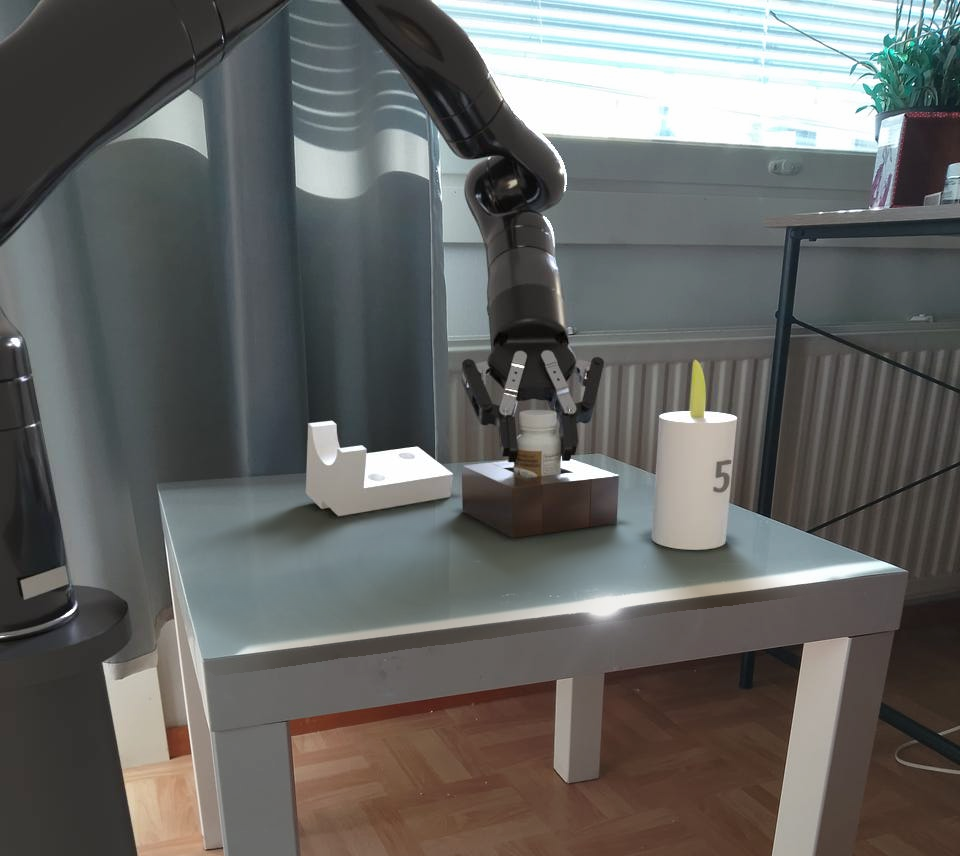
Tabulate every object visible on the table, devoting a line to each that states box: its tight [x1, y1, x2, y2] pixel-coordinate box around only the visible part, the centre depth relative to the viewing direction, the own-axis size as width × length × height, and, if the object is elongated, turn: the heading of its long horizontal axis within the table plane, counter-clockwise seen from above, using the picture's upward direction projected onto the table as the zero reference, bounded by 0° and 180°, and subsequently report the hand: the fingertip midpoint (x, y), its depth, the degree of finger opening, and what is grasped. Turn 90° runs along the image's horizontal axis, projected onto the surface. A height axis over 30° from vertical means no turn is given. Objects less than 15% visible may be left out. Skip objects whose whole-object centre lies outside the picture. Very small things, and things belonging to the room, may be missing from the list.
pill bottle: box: [514, 409, 561, 478], centre depth 86 cm, size 4×4×8 cm
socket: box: [461, 456, 620, 539], centre depth 88 cm, size 11×11×4 cm
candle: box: [651, 359, 738, 551], centre depth 78 cm, size 6×6×15 cm
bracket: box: [305, 420, 454, 517], centre depth 94 cm, size 13×7×8 cm, turn 125°
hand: (540, 456), depth 85 cm, fingers closed on pill bottle, 4 cm apart
